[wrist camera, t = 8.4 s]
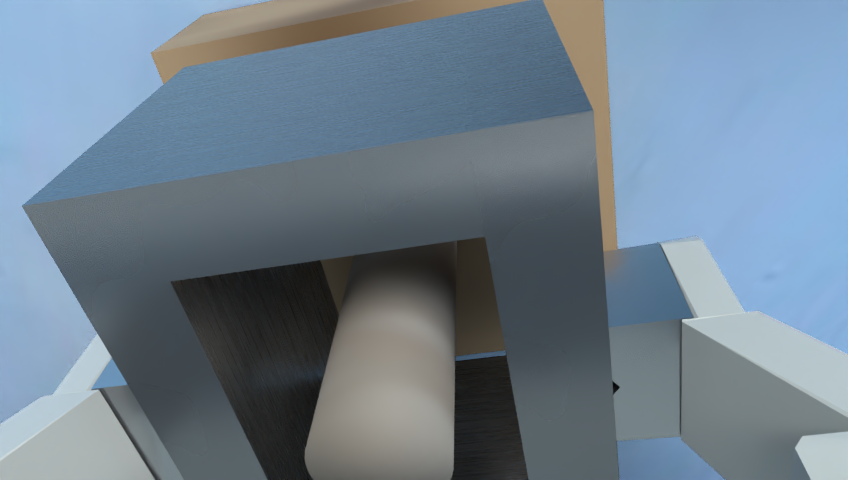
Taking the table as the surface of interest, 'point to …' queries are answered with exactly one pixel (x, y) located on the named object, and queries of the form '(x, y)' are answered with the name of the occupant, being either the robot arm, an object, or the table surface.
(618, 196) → the table surface
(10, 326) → the table surface
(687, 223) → the table surface
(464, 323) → the block
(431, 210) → the grey hollow rectangular block
